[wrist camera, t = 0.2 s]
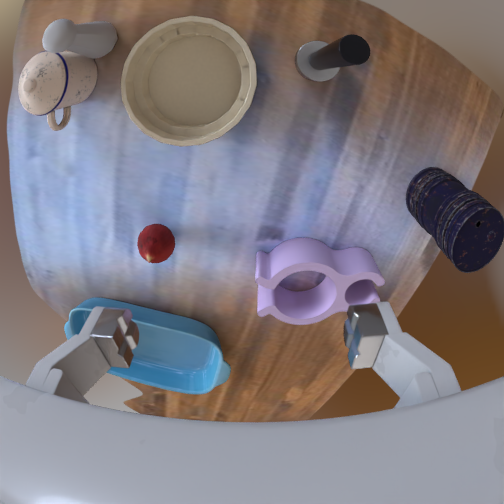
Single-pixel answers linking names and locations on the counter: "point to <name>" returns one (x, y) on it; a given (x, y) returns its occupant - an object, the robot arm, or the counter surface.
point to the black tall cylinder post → (330, 57)
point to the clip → (327, 292)
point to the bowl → (188, 81)
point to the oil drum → (456, 218)
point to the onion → (156, 243)
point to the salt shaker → (80, 38)
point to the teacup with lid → (56, 84)
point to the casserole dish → (164, 349)
